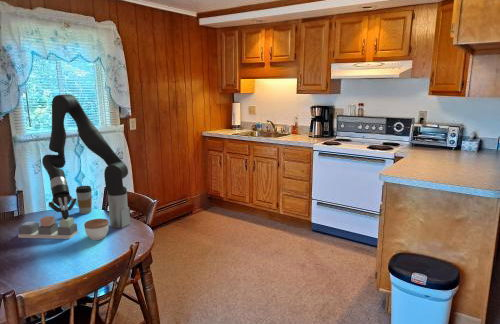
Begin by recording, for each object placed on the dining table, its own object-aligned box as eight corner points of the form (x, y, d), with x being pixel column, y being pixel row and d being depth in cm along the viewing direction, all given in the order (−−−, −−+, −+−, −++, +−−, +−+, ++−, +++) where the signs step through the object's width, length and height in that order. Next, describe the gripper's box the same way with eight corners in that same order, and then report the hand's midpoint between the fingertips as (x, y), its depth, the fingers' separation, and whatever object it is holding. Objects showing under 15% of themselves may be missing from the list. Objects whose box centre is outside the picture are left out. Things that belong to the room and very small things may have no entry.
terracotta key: (54, 223, 174) (54, 216, 173) (49, 226, 169) (48, 219, 169) (46, 223, 174) (45, 216, 173) (40, 226, 169) (39, 219, 169)
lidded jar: (100, 243, 164) (99, 224, 162) (80, 241, 166) (78, 222, 164) (114, 234, 174) (112, 216, 172) (94, 232, 176) (93, 214, 175)
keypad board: (78, 232, 176) (77, 222, 175) (69, 238, 168) (69, 229, 167) (29, 231, 177) (27, 221, 176) (18, 237, 169) (16, 227, 168)
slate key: (36, 228, 175) (36, 221, 174) (31, 231, 170) (30, 225, 170) (28, 228, 175) (27, 221, 174) (22, 231, 170) (21, 224, 170)
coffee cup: (89, 214, 201) (87, 189, 198) (74, 214, 201) (72, 189, 198) (96, 209, 209) (94, 185, 206) (82, 209, 210) (79, 185, 207)
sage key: (73, 224, 173) (73, 217, 173) (69, 227, 169) (68, 220, 168) (65, 224, 174) (64, 217, 173) (60, 227, 169) (59, 220, 169)
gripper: (44, 185, 171) (50, 217, 164) (74, 182, 179) (81, 211, 172) (44, 193, 177) (50, 224, 169) (73, 189, 184) (80, 218, 177)
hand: (66, 218), depth 170 cm, fingers closed
